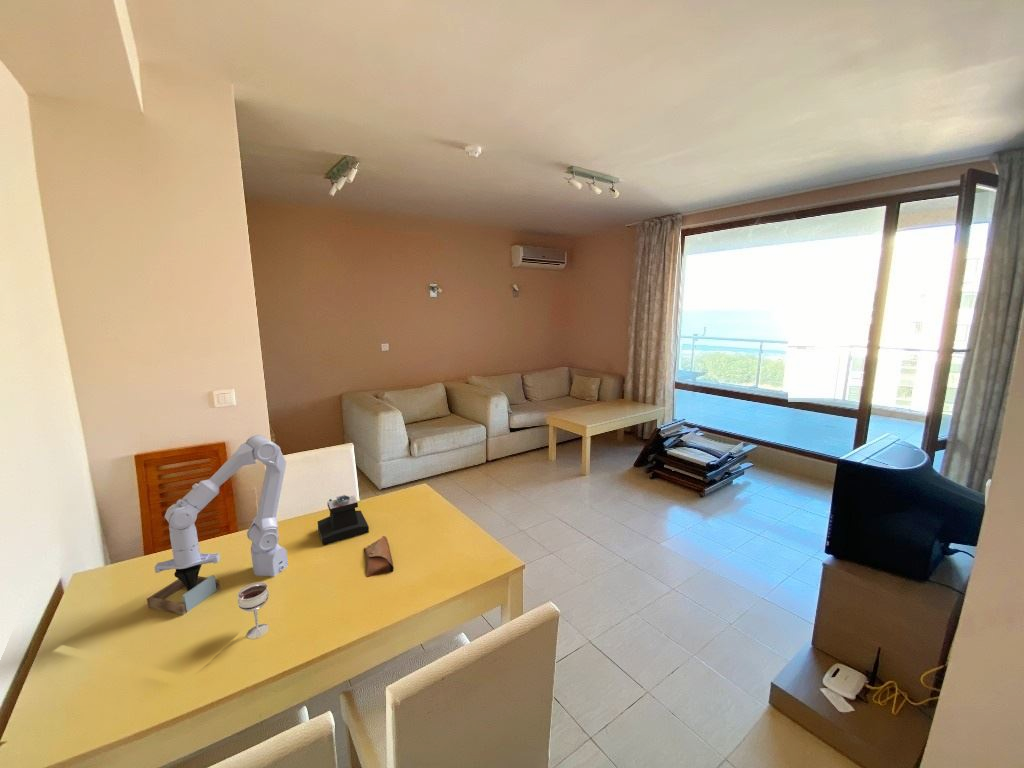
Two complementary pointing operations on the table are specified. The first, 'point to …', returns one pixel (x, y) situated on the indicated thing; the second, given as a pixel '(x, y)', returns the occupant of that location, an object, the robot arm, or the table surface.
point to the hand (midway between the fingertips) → (192, 589)
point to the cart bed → (170, 606)
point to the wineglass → (254, 605)
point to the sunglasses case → (378, 558)
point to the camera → (342, 521)
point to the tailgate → (199, 593)
